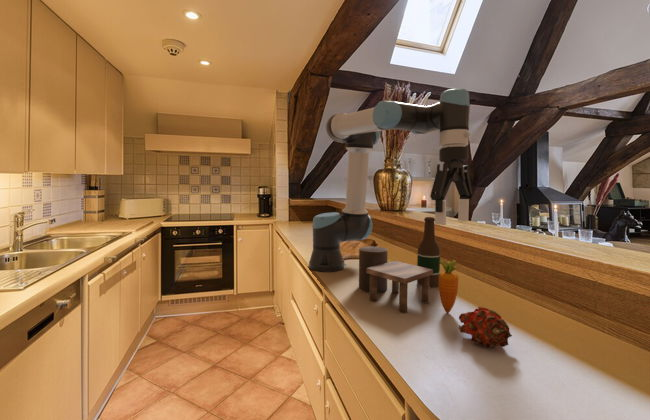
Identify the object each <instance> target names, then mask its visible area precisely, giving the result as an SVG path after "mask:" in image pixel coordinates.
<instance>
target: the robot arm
mask: <svg viewBox="0 0 650 420" xmlns="http://www.w3.org/2000/svg"><path fill="white" fill-rule="evenodd" d="M470 107H471V104H470V92H469V90H467V89H465V88H458V87H457V88H450V89H447V90H444V91H443V92H442V93H441V94H440V98H439V102H436V103H434V104H432V105H427V106H426V105H425V106H424V105H419V104H412V103H405V102H400V101H395V100H381V101H379V102H378V103H377V104H375V106H374V107H371V108H366V109H362V110H358V111H354V112H350V113H344V112H339V113H335V114H332V115H331V116H329V118H328V119H327V122H326V124H325V131H326V133H327V136H328V138H330V139H331V140H332V141H334V142H337V143H341V144H345V149H346V150H347V151H348V164H347V178H346V193H345V194H346V195H345V207H344V208H343V209H341V213H339V212H336V211H333V212H324V213H320V214H317V215H315V216H314V217H313V218H312V252H311V255H310V259H309V261H308V268H309V269H310V270H312V271H315V272H325V273H326V272H327V273H329V272H330V273H331V272H337V271H342V270H343V269H344V268H345V262H344V260H343V255H342V252H341V243H342V242H343V243H344V242H355V241H356V242H357V241H358V242H359V241H362V240H366V239H368V238H369V237H370V236H371V233H372V231H373V225H374V223H373V221H372V217H371V216H370V215H369V211H368V210H367V209H366V195H367V183H368V172H369V170H368V169H369V159H370V158H369V155H370V153H371V152H372V151H373V149H374V146H375V145H377V144H378V142H379V139H380V135H381V131H383V132H384V131H391V130H398V131H408V132H409V131H410V132H411V133H413V134H414V135H425V134H427V133H428V134H429V133H431V132H435V131H439V147H440V149H439V154H438V155H439V157H438V160H439V162H440V163H437V165H436V173H435V175H434V176H435V177H434V182H433V185H432V187H431V188H432V189H431V192H430V195H429V196H430V199H431V201H435V203H434V204H435V206H434V218H435V221H434V225H438V226H439V225H440V226H447V200H445V199H446V197H447V194H448V192H449V189H450V187H451V185H452V183H454V185H455V187H456V189H457V193H458V195H459V198H458V207H457V208H458V211H457V213H458V215H457V218H458V219H457V220H458V221H460V222H461V221H462V222H469V208H470V207H469V202H470V200H472V199H473V197H474V196H473V195H474V193H473V189H472V184H471V179H470V174H469V165H468V164H466V165H464V164H463V163H464V162H466V161H468V160H469V147H467V146H468V145H469V139H470V138H469V137H470V136H471V133H470V132H469V131H470V129H469V128H470V127H469V126H470V125H469V124H470V123H469V122H470V110H471V109H470Z"/></svg>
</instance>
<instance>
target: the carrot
mask: <svg viewBox="0 0 650 420" xmlns="http://www.w3.org/2000/svg"><path fill="white" fill-rule="evenodd" d="M440 264H441V265H442V268H443V269H444V271H442V272H440V274H439V285H438V293H439V299H440V303H441V305H442V308H443V309H444V310H443V311H444V312H445V313H447V314H449V313H450V312H451V311H452V310H453V308H454V306H455V303H456V300H457V294H458V289H459V276H458V274H456V273H455V272H453V271H455V270H456V269H457V267H455V265H456V264H457V261H456V260H455V259H453V260H452V261H447V263H445V261H444V260H442V259H440Z"/></svg>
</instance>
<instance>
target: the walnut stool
mask: <svg viewBox="0 0 650 420" xmlns="http://www.w3.org/2000/svg"><path fill="white" fill-rule="evenodd" d="M366 273H368V274H370V292H369V301H370V302H377V301H378V300H377V299H378V295H377V294H378V293H377V276H379V277H382V278H385V279H387V280H390V281H391V292H392V293H393V294H398V312H399V313H401V314H406V313H408V287H409V286H408V285H409V283H412V282H415V281H417V280H418V279H421V278H422V286H421V291H420V292H421V293H420V298H421V300H420V302H421V303H422V304H428V303H430V287H429V276H430V275H433V269H428V268H424V267H420V266H417V265H414V264H411V263H405V262H401V261H397V260H393V261H389V262H388V261H387V263H384V264H381V265H377V266H373V267H369V268H366Z"/></svg>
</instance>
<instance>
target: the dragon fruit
mask: <svg viewBox="0 0 650 420" xmlns="http://www.w3.org/2000/svg"><path fill="white" fill-rule="evenodd" d="M458 320H459V321H460V323H461V324H462V325H458V330H459V332H460V333H461V334H462V333H464V334H466V335H471V339H470V340H471V342H472V343H473V344H475V345H479V344H481V343H482V345H483V346H484V347H486V348H491V349H495V347H496V346H499V347H503V348H505V347H506V346H508V345H509V341H508V339H510V338H512V336H513V335H512V333H511V332H510V327H509V325H508V323H507V322H506V321H505V320H504V319H502V316H501V315H500V314H499V313H497V311H495V310H494V309H489V308H487V307H482V306H478V307H477V308H475V309H474V311H468V312H465V313H464V312H463V313H460V315H458Z"/></svg>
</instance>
